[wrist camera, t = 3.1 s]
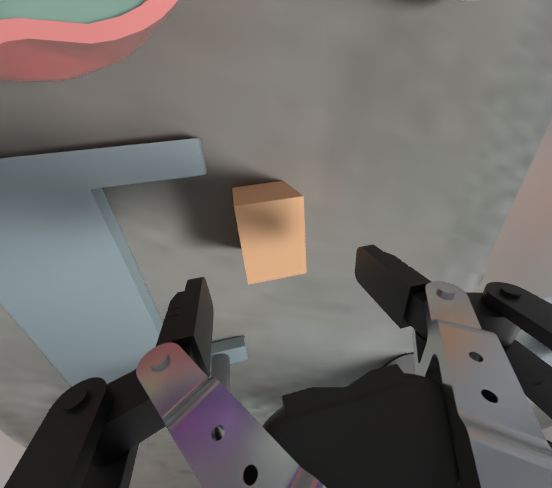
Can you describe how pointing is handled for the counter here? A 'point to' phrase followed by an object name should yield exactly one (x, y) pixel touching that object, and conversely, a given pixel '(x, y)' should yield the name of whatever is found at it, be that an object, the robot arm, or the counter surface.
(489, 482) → the robot arm
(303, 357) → the counter surface
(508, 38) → the counter surface
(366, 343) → the counter surface
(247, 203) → the tan wooden brick
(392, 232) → the counter surface
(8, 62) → the cell model
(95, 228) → the screw clamp
